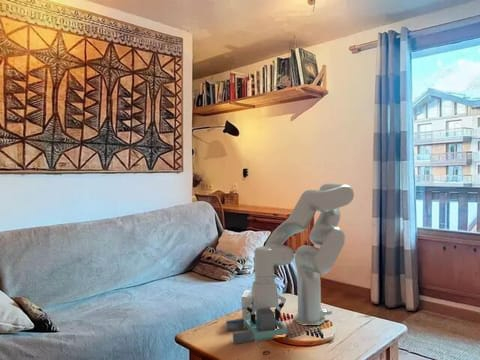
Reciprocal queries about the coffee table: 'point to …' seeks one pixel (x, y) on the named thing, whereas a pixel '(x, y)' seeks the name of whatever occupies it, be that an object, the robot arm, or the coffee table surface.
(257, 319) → the grey upright block
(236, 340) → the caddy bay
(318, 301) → the robot arm
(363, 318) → the coffee table surface
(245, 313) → the ink cartridge box
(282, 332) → the tray
